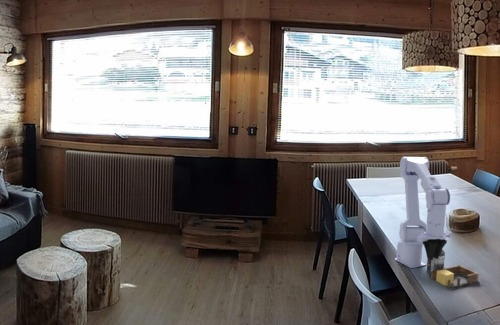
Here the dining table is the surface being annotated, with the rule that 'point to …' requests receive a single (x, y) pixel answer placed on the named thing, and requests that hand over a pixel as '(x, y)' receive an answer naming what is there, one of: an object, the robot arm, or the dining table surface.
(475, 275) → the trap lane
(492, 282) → the dining table surface
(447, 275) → the ochre block
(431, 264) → the pill bottle
